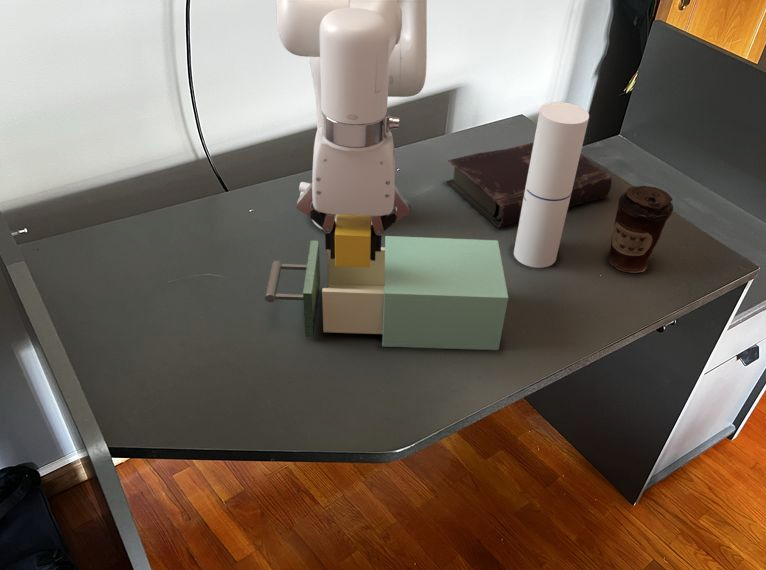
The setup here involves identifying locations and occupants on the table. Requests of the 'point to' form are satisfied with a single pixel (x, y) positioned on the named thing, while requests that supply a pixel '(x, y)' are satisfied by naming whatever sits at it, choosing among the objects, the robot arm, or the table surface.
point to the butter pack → (352, 241)
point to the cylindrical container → (550, 182)
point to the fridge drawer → (337, 294)
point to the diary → (515, 182)
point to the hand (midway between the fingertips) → (353, 252)
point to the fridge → (443, 293)
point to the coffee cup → (638, 227)
